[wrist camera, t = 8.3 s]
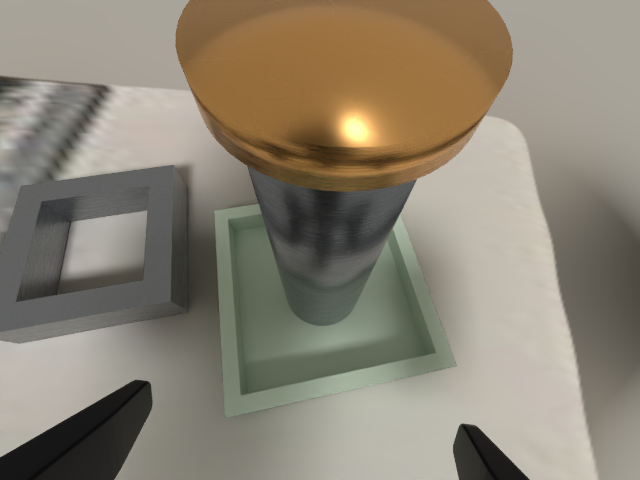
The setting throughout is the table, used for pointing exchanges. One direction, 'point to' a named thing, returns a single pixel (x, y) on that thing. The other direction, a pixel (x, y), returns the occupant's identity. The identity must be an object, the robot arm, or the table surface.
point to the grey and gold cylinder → (340, 118)
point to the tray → (310, 340)
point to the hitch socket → (49, 245)
